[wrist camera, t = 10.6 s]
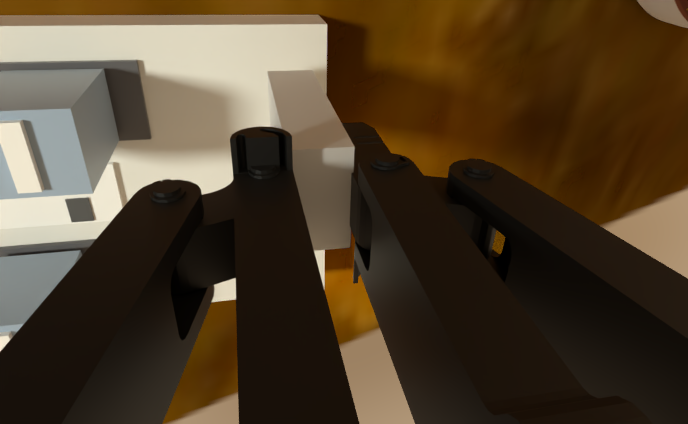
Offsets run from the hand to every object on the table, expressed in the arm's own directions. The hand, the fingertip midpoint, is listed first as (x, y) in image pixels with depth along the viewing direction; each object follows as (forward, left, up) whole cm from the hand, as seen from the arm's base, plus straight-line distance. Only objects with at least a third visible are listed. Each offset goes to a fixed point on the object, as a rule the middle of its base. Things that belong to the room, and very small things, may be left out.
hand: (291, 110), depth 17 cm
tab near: (-8, 0, -1) cm, 8 cm away
